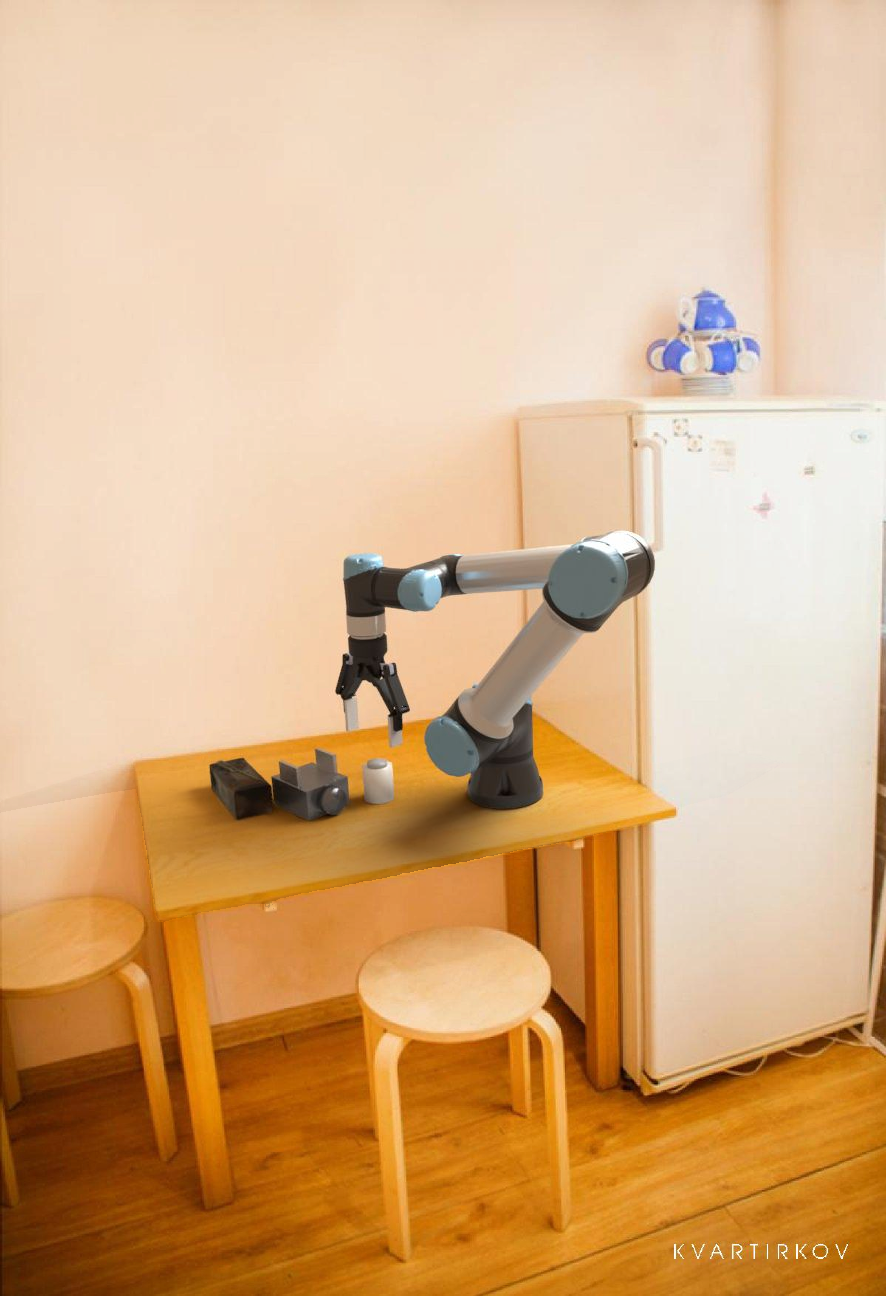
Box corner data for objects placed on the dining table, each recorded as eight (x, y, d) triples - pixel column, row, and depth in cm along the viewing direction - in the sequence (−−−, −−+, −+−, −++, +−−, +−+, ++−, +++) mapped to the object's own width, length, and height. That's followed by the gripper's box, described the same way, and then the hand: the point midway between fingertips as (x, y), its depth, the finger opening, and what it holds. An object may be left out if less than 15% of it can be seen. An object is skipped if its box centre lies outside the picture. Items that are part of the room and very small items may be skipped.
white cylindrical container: (400, 797, 199) (398, 761, 197) (377, 806, 195) (374, 769, 193) (381, 789, 204) (378, 754, 202) (358, 798, 200) (355, 762, 198)
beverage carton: (247, 781, 212) (244, 753, 210) (275, 813, 196) (272, 782, 194) (210, 790, 209) (207, 761, 207) (236, 823, 192) (233, 791, 190)
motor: (357, 807, 195) (353, 760, 193) (316, 824, 189) (311, 776, 186) (314, 789, 206) (310, 744, 203) (274, 804, 199) (269, 758, 196)
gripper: (424, 640, 184) (429, 747, 190) (343, 620, 202) (349, 718, 208) (394, 649, 179) (400, 758, 185) (313, 628, 197) (321, 728, 203)
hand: (373, 737), depth 196 cm, fingers open, 13 cm apart
